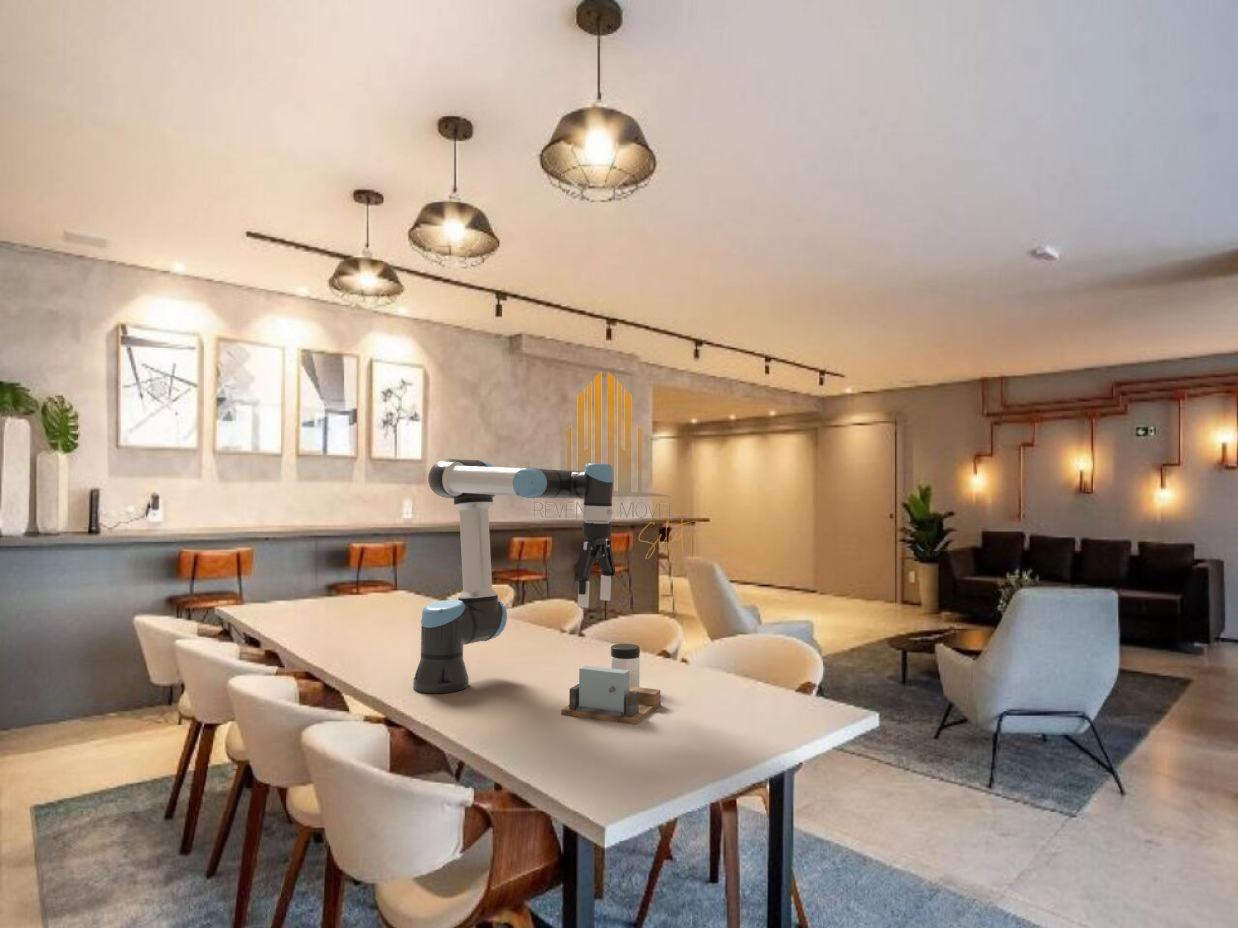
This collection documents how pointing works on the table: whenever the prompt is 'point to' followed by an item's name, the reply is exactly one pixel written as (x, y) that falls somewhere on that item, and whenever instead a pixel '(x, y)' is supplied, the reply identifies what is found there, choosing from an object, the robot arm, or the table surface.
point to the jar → (627, 661)
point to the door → (603, 688)
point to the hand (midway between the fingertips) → (594, 603)
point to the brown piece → (637, 709)
